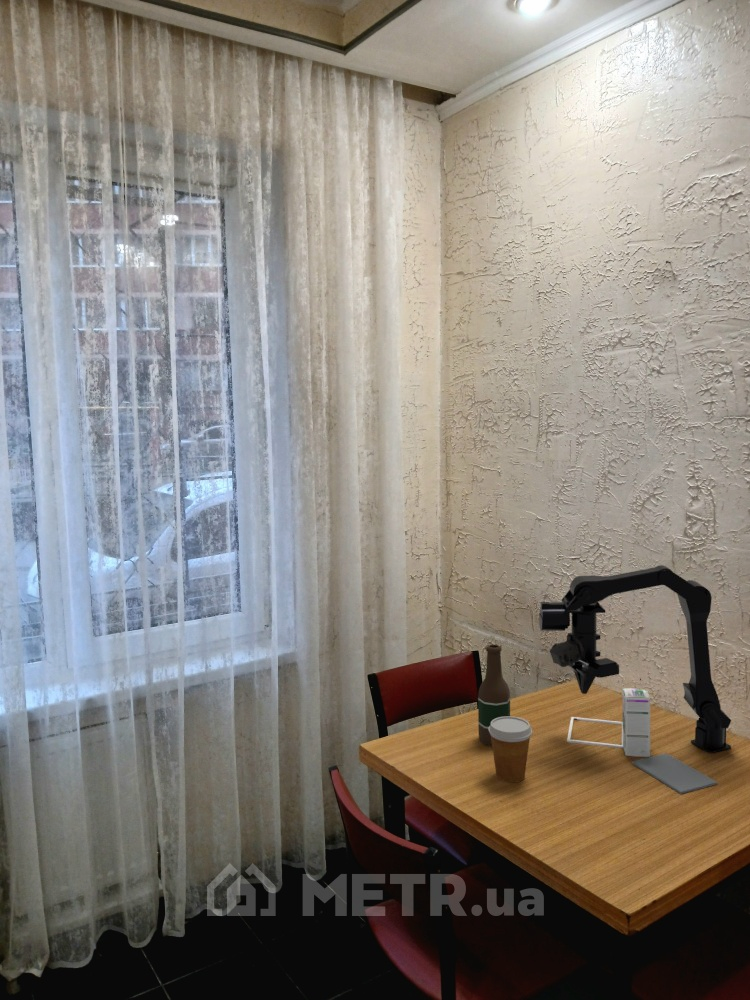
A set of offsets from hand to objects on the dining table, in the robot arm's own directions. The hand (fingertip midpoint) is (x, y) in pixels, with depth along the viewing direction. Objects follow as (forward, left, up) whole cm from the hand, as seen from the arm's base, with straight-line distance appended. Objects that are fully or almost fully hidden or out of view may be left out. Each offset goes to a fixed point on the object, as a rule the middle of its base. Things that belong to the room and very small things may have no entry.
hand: (584, 693), depth 180 cm
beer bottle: (+18, -11, -13) cm, 25 cm away
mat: (-9, +20, -13) cm, 25 cm away
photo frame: (-9, -2, -13) cm, 16 cm away
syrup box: (-9, +8, -13) cm, 18 cm away
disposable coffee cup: (+24, +6, -13) cm, 28 cm away
